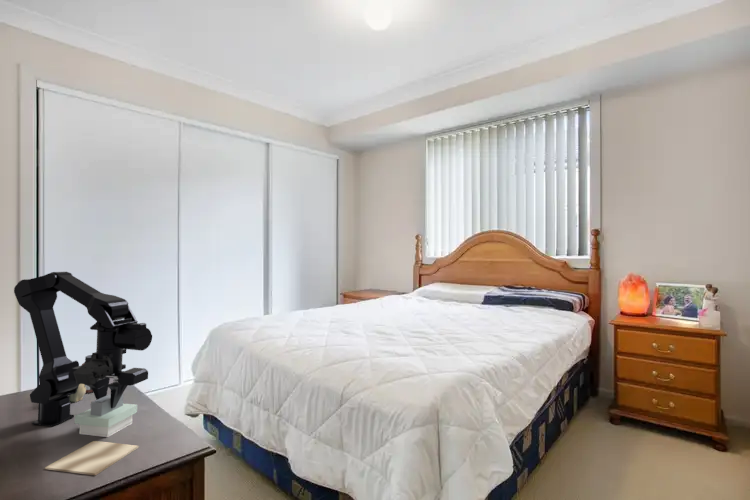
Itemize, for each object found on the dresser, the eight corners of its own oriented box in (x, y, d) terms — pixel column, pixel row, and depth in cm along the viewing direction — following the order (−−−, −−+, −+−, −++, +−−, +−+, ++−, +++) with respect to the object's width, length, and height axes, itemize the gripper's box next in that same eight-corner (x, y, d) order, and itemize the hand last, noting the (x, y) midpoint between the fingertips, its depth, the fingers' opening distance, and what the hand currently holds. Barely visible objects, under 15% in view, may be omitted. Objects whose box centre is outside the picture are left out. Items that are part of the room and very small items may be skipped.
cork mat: (45, 469, 82) (45, 467, 82) (93, 442, 94) (93, 440, 94) (95, 475, 81) (95, 473, 81) (138, 447, 92) (138, 445, 92)
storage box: (79, 433, 98) (80, 418, 98) (105, 420, 106) (106, 406, 106) (107, 437, 97) (108, 420, 97) (132, 423, 105) (132, 408, 105)
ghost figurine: (59, 400, 119) (60, 374, 119) (78, 395, 124) (79, 370, 124) (69, 404, 116) (71, 377, 116) (89, 398, 121) (90, 373, 121)
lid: (74, 423, 98) (75, 402, 98) (105, 409, 107) (106, 390, 107) (108, 427, 96) (109, 406, 96) (137, 412, 106) (137, 392, 106)
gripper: (48, 352, 95) (46, 416, 95) (117, 357, 93) (114, 423, 92) (88, 342, 106) (86, 400, 106) (150, 346, 104) (148, 405, 103)
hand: (107, 407), depth 102 cm, fingers open, 3 cm apart
